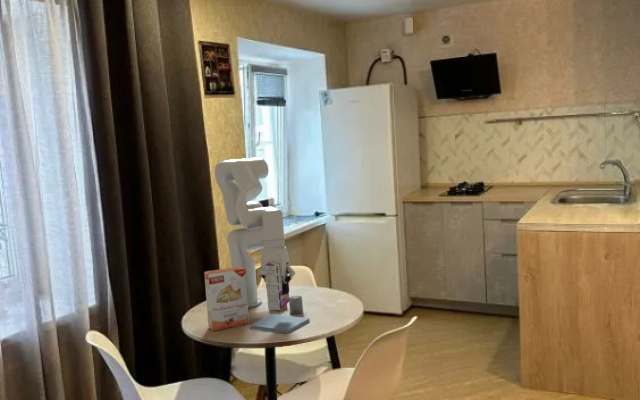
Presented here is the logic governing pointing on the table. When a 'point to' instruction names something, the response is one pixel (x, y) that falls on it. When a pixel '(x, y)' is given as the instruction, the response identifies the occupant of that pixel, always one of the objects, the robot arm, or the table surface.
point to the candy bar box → (275, 287)
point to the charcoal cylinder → (296, 305)
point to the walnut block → (283, 308)
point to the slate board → (280, 323)
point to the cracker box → (226, 298)
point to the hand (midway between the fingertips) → (278, 292)
